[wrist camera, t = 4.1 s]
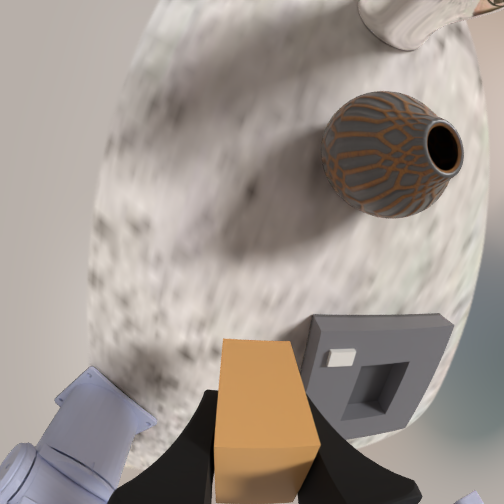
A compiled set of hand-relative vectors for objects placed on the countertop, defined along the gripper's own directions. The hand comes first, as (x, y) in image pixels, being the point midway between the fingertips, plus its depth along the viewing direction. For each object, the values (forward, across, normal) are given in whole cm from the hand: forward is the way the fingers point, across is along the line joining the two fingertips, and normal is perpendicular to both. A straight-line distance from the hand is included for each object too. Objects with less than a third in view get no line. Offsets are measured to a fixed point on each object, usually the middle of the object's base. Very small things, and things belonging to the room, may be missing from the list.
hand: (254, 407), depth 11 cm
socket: (+8, -10, +5) cm, 14 cm away
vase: (+9, -6, -12) cm, 16 cm away
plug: (+2, 0, 0) cm, 2 cm away
